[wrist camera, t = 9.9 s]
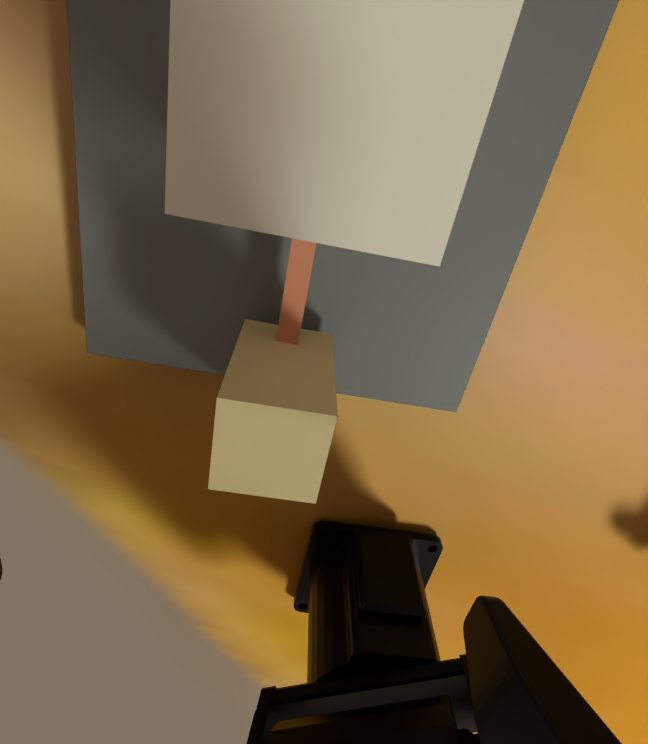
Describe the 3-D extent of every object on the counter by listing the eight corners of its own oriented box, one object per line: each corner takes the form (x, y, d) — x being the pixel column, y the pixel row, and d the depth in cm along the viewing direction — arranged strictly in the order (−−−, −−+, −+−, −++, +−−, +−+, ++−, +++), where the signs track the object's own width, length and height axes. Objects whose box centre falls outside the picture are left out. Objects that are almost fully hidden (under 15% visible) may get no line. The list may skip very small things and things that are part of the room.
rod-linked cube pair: (354, 405, 18) (367, 510, 13) (198, 380, 17) (152, 481, 13) (467, -17, 12) (569, -109, 7) (231, -78, 11) (166, -223, 6)
